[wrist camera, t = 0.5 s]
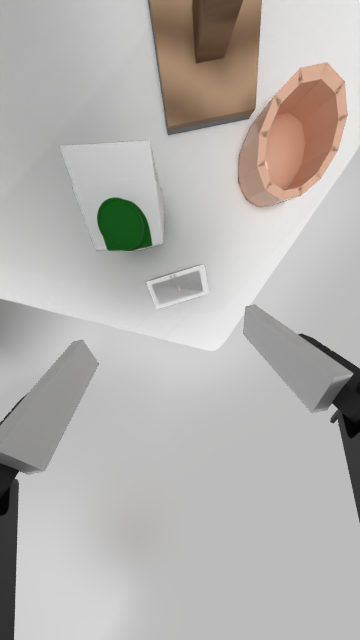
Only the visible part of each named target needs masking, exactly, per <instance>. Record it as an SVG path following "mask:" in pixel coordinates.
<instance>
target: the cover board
mask: <svg viewBox="0 0 360 640" xmlns="http://www.w3.org/2000/svg"><path fill="white" fill-rule="evenodd" d="M149 2H150V9H151V15H152V22H153V29H154V36H155V43H156V50H157V57H158V64H159V71H160V78H161V85H162V92H163V99H164V106H165V113H166V120H167V127H168V131H170V130H175V129H180V128H185V127H190V126H195V125H200V124H205V123H210V122H214V121H219V120H224V119H229V118H234V117H239V116H244V115H249V114H252V113H253V112H254V110H255V107H256V90H257V73H258V56H259V39H260V22H261V5H262V0H149Z"/></svg>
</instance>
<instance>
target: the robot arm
mask: <svg viewBox="0 0 360 640" xmlns="http://www.w3.org/2000/svg"><path fill="white" fill-rule="evenodd" d="M243 334H244V335H245V337H246V338H247V339H248V340H249V341H250V342H251V344H252V345H253V346H254V347H255V348H256V349H257V350H258V352H259V353H260V354H261V355H262V356H263V357H264V359H265V360H266V361H267V362H268V363H269V364H270V365H271V366H272V368H273V369H274V370H275V371H276V372H277V374H278V375H279V376H280V377H281V378H282V379H283V381H284V382H285V383H286V384H287V385H288V386H289V387H290V389H291V390H292V391H293V392H294V393H295V394H296V396H297V397H298V398H299V399H300V400H301V401H302V403H303V404H304V405H305V406H306V407H307V408H308V409H309V411H310V412H311V413H315V412H320V411H325V410H327V409H328V408H329V406H330V405H331V404H334V405H335V406H336V407H337V408H338V410H337V411H336V412H335V413H334V415H333V416H332V417H331V421H330V422H331V423H334V422H335V421H336V420H337V419H338V423H339V427H340V432H341V437H342V441H343V446H344V451H345V456H346V460H347V465H348V470H349V474H350V479H351V484H352V488H353V493H354V498H355V502H356V507H357V512H358V516H359V521H360V369H359V368H358V367H357V366H355V365H353V364H352V363H350V362H349V361H347V360H346V359H344V358H343V357H341V356H340V355H338V354H337V353H335V352H333V351H331V350H330V349H329V348H327V347H326V346H323V345H322V344H321V343H320V342H318V341H317V340H315V339H313V338H311V337H309V336H306V335H304V334H296V333H295V332H293V331H292V330H290V329H289V328H288V327H286V326H285V325H283V324H282V323H280V322H279V321H278V320H276V319H275V318H273V317H272V316H270V315H269V314H267V313H266V312H265V311H263V310H262V309H260V308H259V307H257V306H256V305H250V306H246V307H245V318H244V330H243ZM98 365H99V363H98V362H97V360H96V359H95V357H94V356H93V354H92V353H91V351H90V350H89V348H88V347H87V345H86V344H85V342H84V341H83V340H79V341H74V342H73V343H71V345H70V346H69V347H68V348H67V349H66V350H65V352H64V353H63V354H62V355H61V356H60V357H59V358H58V360H57V361H56V362H55V363H54V364H53V365H52V366H51V368H50V369H49V370H48V371H47V372H46V374H45V375H44V376H43V377H42V378H41V379H40V380H39V381H38V383H37V384H36V385H35V386H34V387H33V389H32V390H31V391H30V392H29V393H28V394H27V395H25V396H24V397H23V398H22V399H21V400H20V401H19V402H18V403H17V404H16V405H15V406H14V408H13V409H12V411H11V412H9V413H8V414H7V416H6V417H5V418H4V420H3V421H1V422H0V640H14V620H15V587H16V555H17V554H16V553H17V522H18V521H17V520H18V490H19V483H18V480H17V479H14V478H15V477H16V475H17V473H18V472H19V471H20V472H23V473H26V474H34V473H39V472H43V471H45V469H46V468H47V465H48V464H49V462H50V460H51V458H52V456H53V454H54V452H55V450H56V448H57V446H58V444H59V442H60V440H61V438H62V436H63V434H64V432H65V430H66V428H67V426H68V424H69V422H70V420H71V418H72V416H73V414H74V412H75V410H76V408H77V406H78V404H79V402H80V400H81V398H82V396H83V394H84V392H85V390H86V388H87V386H88V384H89V382H90V380H91V379H92V377H93V375H94V372H95V371H96V369H97V367H98Z"/></svg>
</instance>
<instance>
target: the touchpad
mask: <svg viewBox="0 0 360 640" xmlns="http://www.w3.org/2000/svg"><path fill="white" fill-rule="evenodd" d="M146 284H147V287H148V289H149V292H150V294H151V297H152V299H153V302H154V304H155V307H156V309H160V308H163V307H166V306H170V305H173V304H176V303H180V302H183V301H186V300H190V299H193V298H196V297H200V296H203V295H206V294H209V289H208V284H207V278H206V272H205V266H204V264H202V265H199V266H196V267H193V268H189V269H186V270H183V271H180V272H176V273H173V274H170V275H167V276H164V277H160V278H157V279H154V280H151V281H147V282H146Z"/></svg>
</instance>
